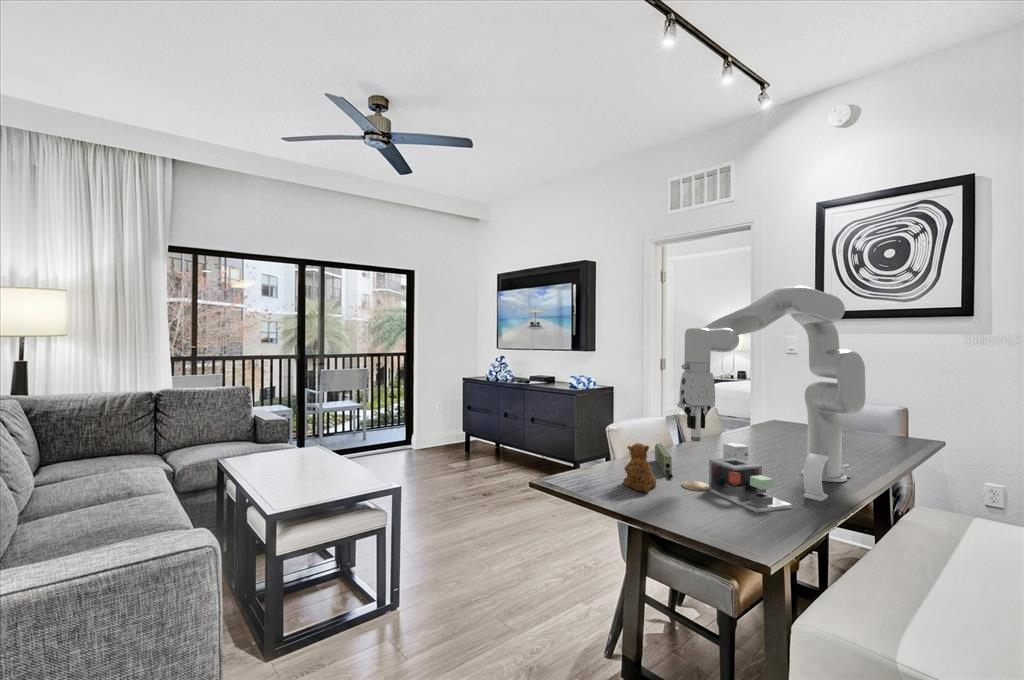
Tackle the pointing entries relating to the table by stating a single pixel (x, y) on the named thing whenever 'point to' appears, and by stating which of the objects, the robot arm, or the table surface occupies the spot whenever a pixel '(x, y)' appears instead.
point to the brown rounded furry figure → (639, 469)
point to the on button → (761, 483)
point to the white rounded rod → (697, 425)
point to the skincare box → (735, 451)
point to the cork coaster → (695, 485)
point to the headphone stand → (814, 476)
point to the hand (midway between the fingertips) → (696, 427)
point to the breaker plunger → (734, 478)
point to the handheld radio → (663, 459)
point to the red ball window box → (741, 485)
